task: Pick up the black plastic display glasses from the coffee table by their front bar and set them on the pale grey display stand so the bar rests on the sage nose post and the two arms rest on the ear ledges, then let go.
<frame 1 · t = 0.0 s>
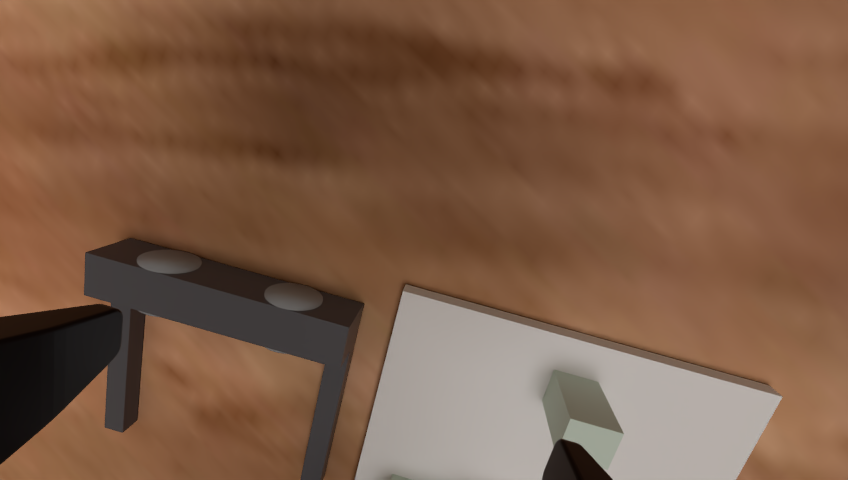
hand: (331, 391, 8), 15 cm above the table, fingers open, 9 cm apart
glasses: (243, 289, 25), on the table
display stand: (537, 452, 25), on the table
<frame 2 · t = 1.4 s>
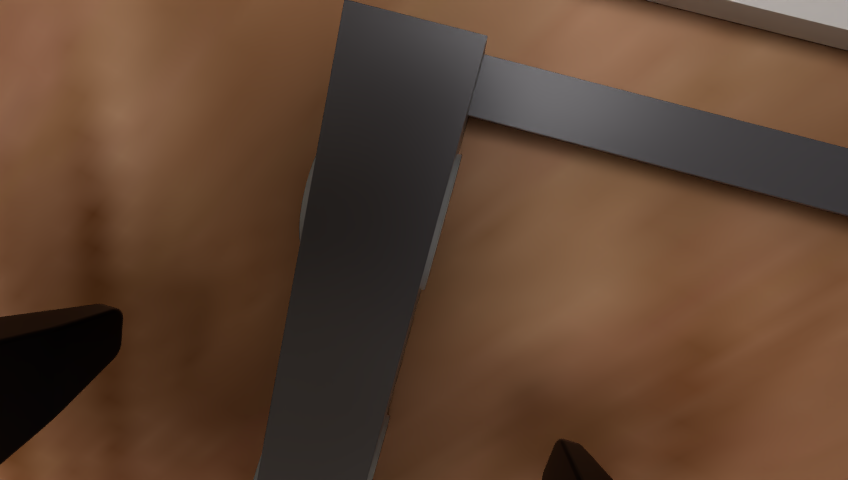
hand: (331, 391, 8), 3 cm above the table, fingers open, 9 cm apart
glasses: (367, 319, 12), on the table
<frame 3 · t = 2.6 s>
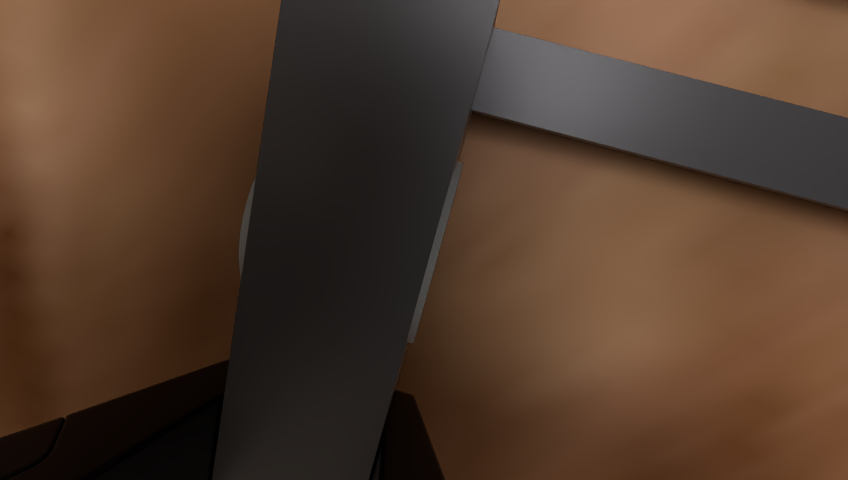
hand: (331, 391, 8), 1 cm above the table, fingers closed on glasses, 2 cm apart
glasses: (346, 364, 9), on the table, touching gripper
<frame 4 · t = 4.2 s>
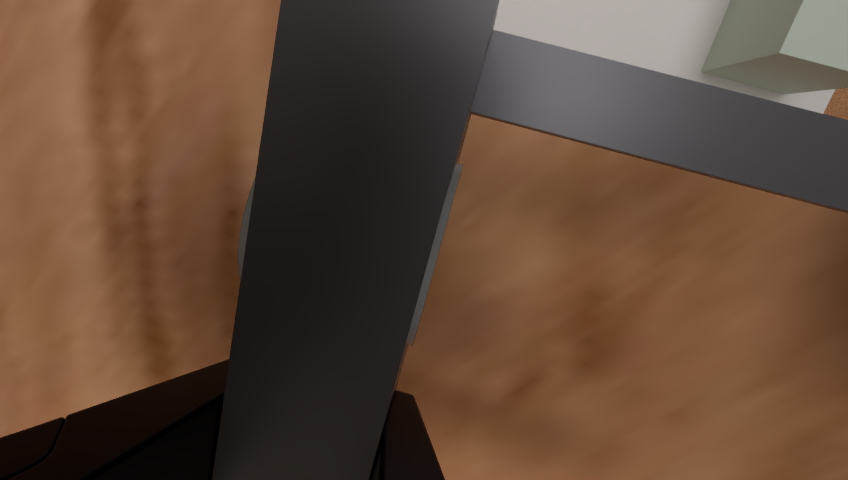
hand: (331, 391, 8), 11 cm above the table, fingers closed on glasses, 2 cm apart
glasses: (346, 365, 9), point 10 cm above the table, touching gripper
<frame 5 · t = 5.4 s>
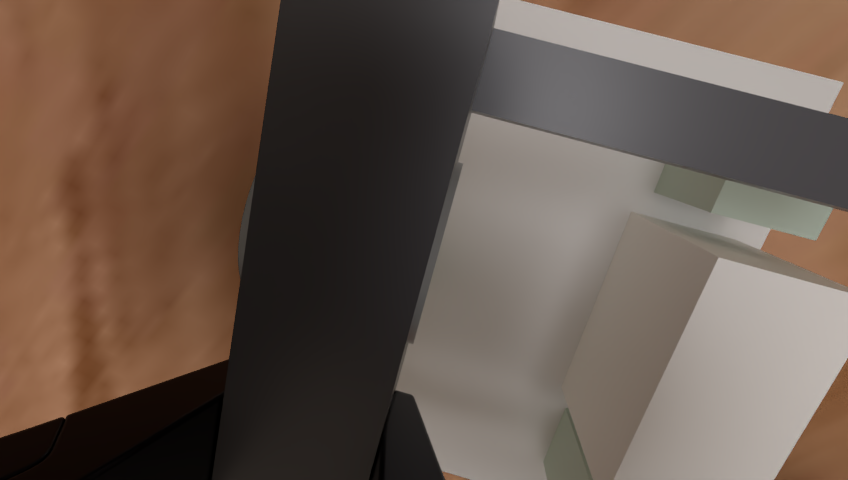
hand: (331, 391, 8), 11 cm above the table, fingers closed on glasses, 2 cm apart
glasses: (346, 364, 9), point 10 cm above the table, touching gripper
display stand: (519, 276, 18), on the table
when the fingers open (7 cm above the table, at t = 6.3 s): glasses stays where it is, resting on display stand.
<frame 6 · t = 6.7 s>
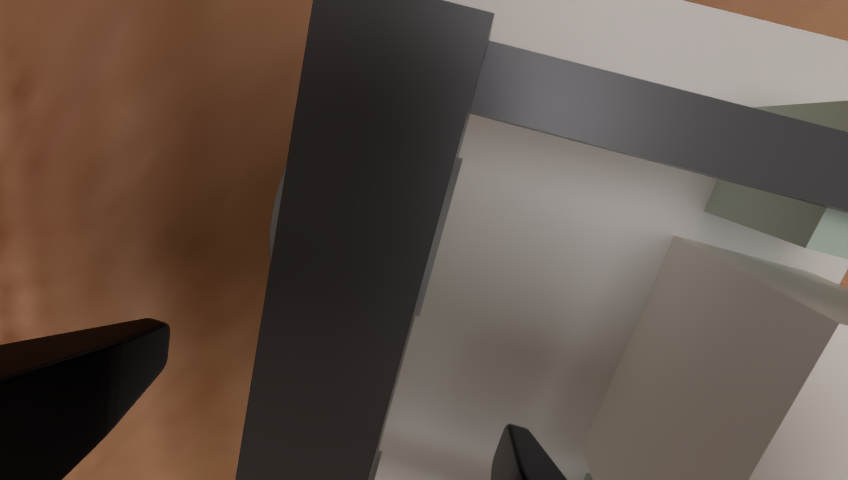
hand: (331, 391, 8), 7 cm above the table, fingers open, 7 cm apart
glasses: (356, 342, 10), point 5 cm above the table, touching display stand
display stand: (530, 312, 15), on the table
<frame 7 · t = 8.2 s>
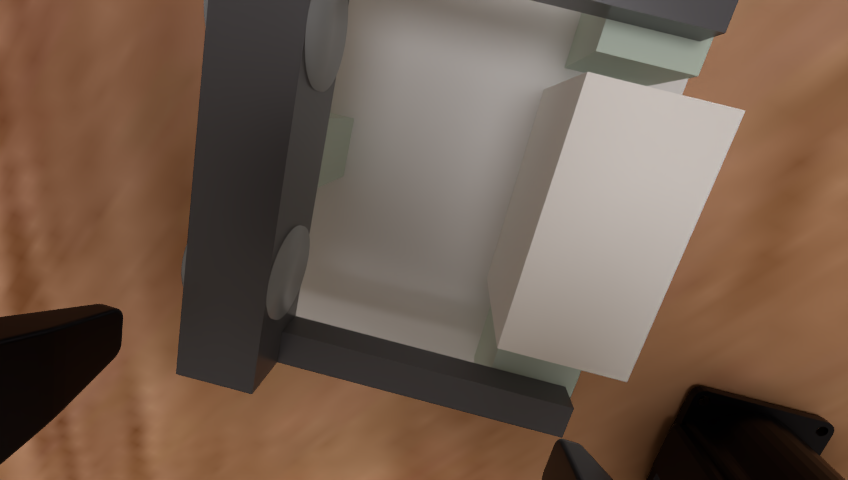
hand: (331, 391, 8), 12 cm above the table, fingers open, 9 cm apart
glasses: (286, 148, 14), point 5 cm above the table, touching display stand
display stand: (443, 169, 19), on the table
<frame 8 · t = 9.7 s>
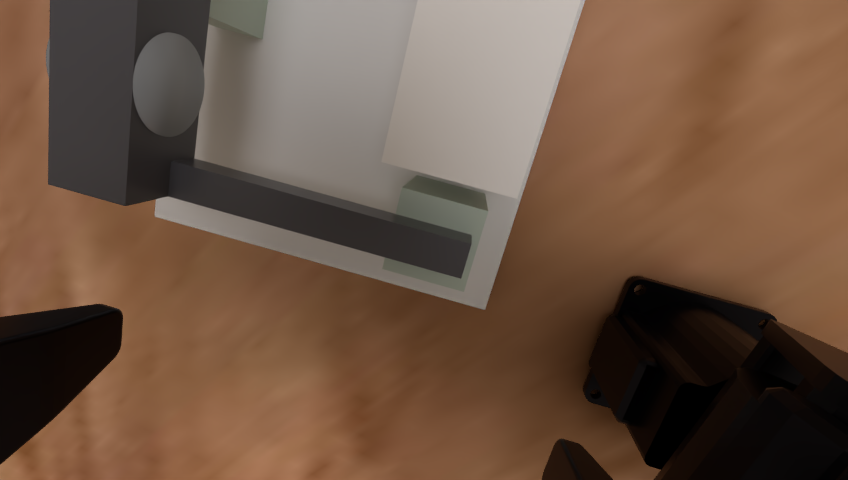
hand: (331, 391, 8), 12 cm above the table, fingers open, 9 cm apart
display stand: (368, 37, 18), on the table
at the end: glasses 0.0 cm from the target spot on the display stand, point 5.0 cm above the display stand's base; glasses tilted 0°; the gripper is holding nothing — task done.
